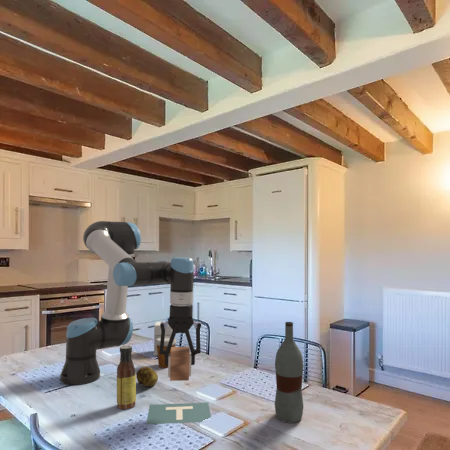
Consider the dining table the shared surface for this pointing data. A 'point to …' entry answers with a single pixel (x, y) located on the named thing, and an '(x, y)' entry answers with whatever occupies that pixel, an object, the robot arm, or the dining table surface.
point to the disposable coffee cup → (160, 356)
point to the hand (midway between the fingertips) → (179, 374)
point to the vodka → (289, 379)
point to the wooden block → (179, 364)
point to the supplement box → (158, 334)
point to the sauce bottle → (126, 379)
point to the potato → (146, 376)
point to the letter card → (178, 413)
